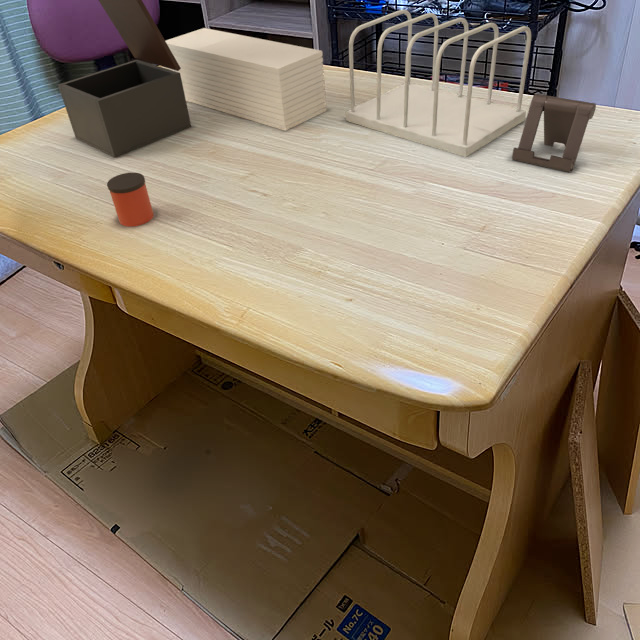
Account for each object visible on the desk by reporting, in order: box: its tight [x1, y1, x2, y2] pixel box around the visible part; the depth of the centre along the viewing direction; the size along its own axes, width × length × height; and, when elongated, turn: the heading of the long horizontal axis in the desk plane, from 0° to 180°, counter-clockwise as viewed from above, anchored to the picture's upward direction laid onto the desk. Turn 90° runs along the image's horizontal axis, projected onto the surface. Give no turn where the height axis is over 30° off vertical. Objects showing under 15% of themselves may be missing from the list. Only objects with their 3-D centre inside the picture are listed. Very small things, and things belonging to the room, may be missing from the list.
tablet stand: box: [511, 93, 597, 173], centre depth 91 cm, size 9×8×8 cm
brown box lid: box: [98, 0, 181, 71], centre depth 104 cm, size 17×14×5 cm
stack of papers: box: [165, 27, 327, 132], centre depth 116 cm, size 32×11×11 cm, turn 48°
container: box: [106, 172, 154, 228], centre depth 86 cm, size 5×5×6 cm
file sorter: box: [345, 9, 532, 158], centre depth 102 cm, size 25×17×16 cm
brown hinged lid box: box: [57, 59, 192, 159], centre depth 109 cm, size 16×14×10 cm
